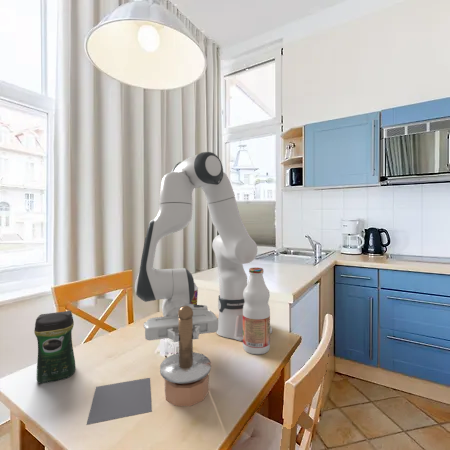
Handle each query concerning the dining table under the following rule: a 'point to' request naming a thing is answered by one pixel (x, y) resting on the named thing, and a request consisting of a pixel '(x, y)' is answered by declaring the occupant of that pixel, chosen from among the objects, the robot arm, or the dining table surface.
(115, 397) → the mat
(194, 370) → the peg on round base
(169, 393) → the bowl
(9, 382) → the dining table surface
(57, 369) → the coffee jar
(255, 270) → the fruit juice
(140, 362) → the dining table surface
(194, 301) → the smoothie
